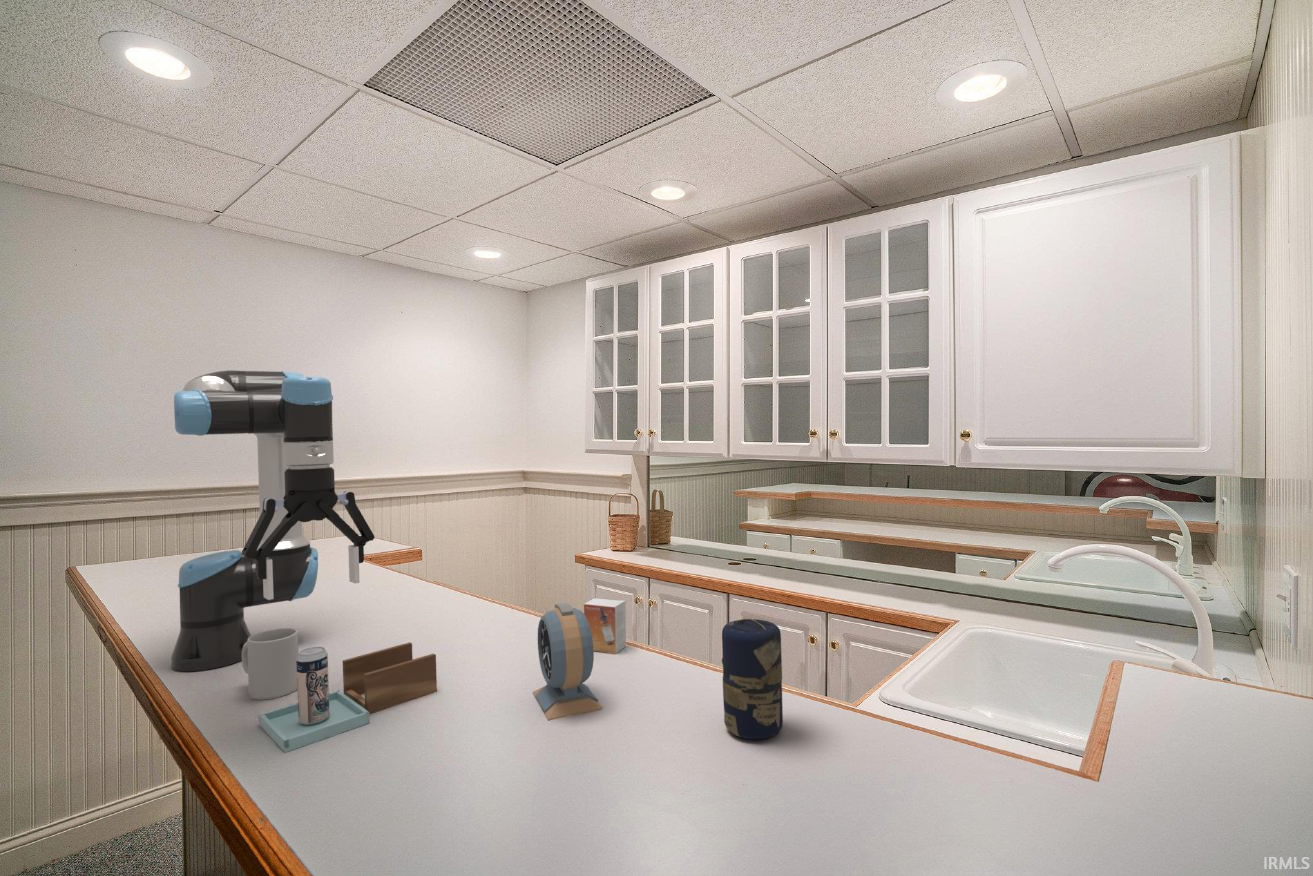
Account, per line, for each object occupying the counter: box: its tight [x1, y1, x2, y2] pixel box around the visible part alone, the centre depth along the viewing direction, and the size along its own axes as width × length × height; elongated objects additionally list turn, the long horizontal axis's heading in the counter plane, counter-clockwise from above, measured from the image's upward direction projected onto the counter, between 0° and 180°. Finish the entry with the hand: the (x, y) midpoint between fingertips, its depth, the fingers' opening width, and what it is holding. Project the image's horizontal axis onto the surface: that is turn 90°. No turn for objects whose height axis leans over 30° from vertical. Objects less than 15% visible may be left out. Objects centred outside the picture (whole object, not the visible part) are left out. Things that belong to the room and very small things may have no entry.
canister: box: [721, 618, 784, 740], centre depth 101 cm, size 10×10×18 cm
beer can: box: [296, 646, 330, 725], centre depth 107 cm, size 5×5×12 cm
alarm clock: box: [532, 602, 603, 721], centre depth 114 cm, size 14×10×18 cm
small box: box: [583, 597, 627, 655], centre depth 141 cm, size 8×6×10 cm
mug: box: [241, 627, 300, 701], centre depth 122 cm, size 12×8×11 cm
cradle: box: [342, 642, 438, 714], centre depth 119 cm, size 11×13×7 cm
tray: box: [258, 690, 371, 753], centre depth 107 cm, size 14×13×2 cm
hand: (313, 590), depth 108 cm, fingers open, 13 cm apart
